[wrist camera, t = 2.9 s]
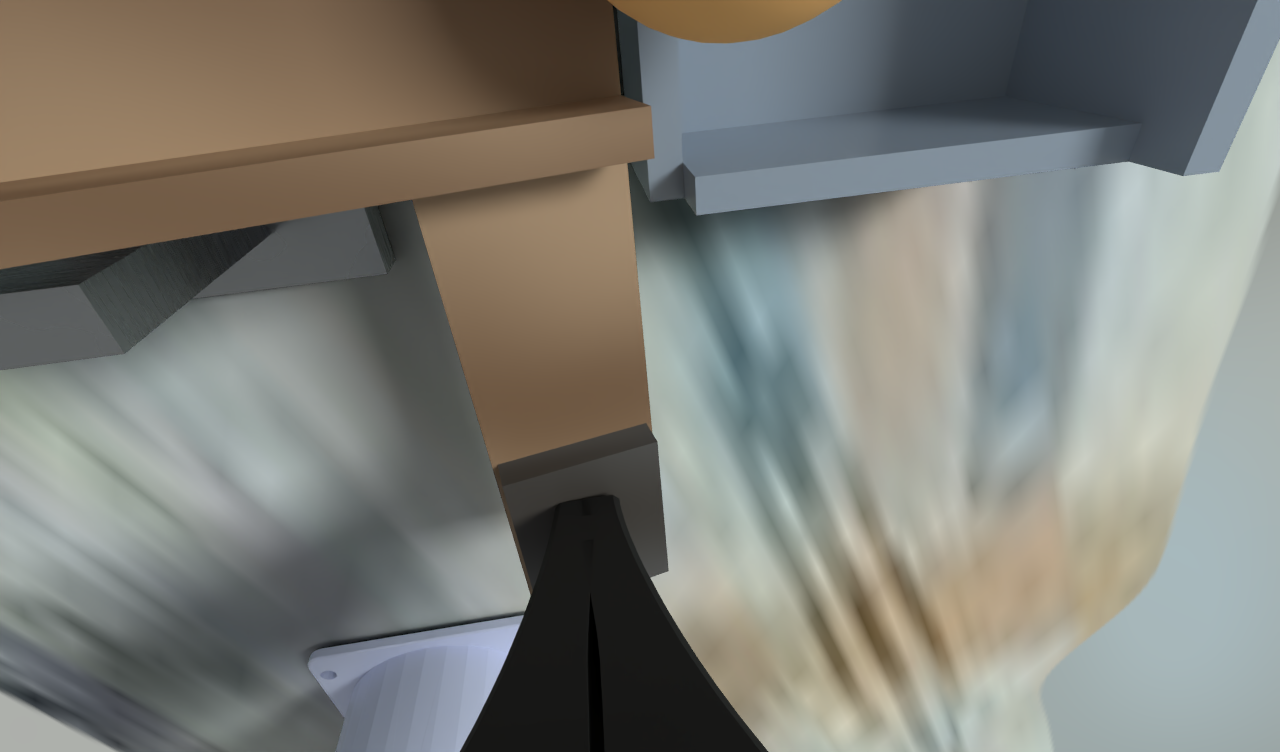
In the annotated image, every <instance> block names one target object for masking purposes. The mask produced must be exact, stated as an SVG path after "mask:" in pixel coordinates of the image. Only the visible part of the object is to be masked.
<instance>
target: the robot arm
mask: <svg viewBox="0 0 1280 752" xmlns="http://www.w3.org/2000/svg"><path fill="white" fill-rule="evenodd" d="M307 666H308V669H309V670H310V671H311V673H312V674H313V676H314V677H315V678H316V680H317V681H318V682H319V684H320V685H321V687H322V688H323V689H324V691H325V692H326V694H327V695H328V696H329V698H330V699H331V700H332V702H333V703H334V705H335V706H336V707H337V709H338V710H339V712H340V713H341V714H342V716H343V717H344V719H345V720H344V723H343V727H342V730H341V734H340V737H339V740H338V744H337V747H336V751H335V752H768V751H767V750H766V748H765V747H764V746H763V745H762V743H761V742H760V741H759V740H758V738H757V737H756V736H755V735H754V733H753V732H752V731H751V730H750V729H749V727H748V726H747V725H746V724H745V722H744V721H743V720H742V719H741V717H740V716H739V715H738V713H737V712H736V711H735V709H734V708H733V707H732V705H731V704H730V703H729V701H728V700H727V699H726V697H725V696H724V695H723V693H722V692H721V690H720V689H719V688H718V686H717V685H716V684H715V682H714V681H713V679H712V678H711V676H710V675H709V674H708V672H707V671H706V669H705V668H704V666H703V665H702V663H701V662H700V661H699V659H698V658H697V656H696V655H695V653H694V652H693V650H692V649H691V647H690V645H689V644H688V642H687V641H686V639H685V638H684V636H683V634H682V633H681V631H680V630H679V628H678V626H677V625H676V623H675V621H674V620H673V618H672V616H671V615H670V613H669V611H668V610H667V608H666V606H665V604H664V603H663V601H662V599H661V597H660V596H659V594H658V592H657V590H656V588H655V586H654V584H653V582H652V580H651V578H650V577H649V575H648V573H647V571H646V569H645V567H644V565H643V563H642V561H641V559H640V557H639V554H638V552H637V550H636V548H635V545H634V543H633V541H632V538H631V536H630V533H629V531H628V528H627V526H626V523H625V520H624V516H623V513H622V509H621V505H620V500H619V498H617V497H616V496H614V495H608V496H601V497H595V498H588V499H582V500H575V501H569V502H562V503H560V504H559V505H558V506H557V507H556V508H555V513H554V519H553V524H552V529H551V533H550V537H549V541H548V545H547V548H546V552H545V555H544V558H543V562H542V565H541V568H540V571H539V574H538V577H537V580H536V583H535V586H534V588H533V591H532V594H531V597H530V600H529V603H528V606H527V608H526V611H525V614H524V615H521V616H515V617H508V618H502V619H496V620H490V621H484V622H478V623H472V624H466V625H460V626H454V627H448V628H442V629H436V630H430V631H424V632H418V633H412V634H406V635H400V636H394V637H388V638H382V639H376V640H370V641H364V642H358V643H352V644H346V645H340V646H334V647H328V648H322V649H318V650H316V651H314V652H313V653H312V654H311V656H310V659H309V661H308V664H307Z"/></svg>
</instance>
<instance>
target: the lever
mask: <svg viewBox="0 0 1280 752" xmlns="http://www.w3.org/2000/svg"><path fill="white" fill-rule="evenodd" d="M654 158H655V156H654V141H653V126H652V111H651V106H650V105H647V104H644V103H642V102H639V101H636V100H633V99H630V98H627V97H625V96H622V95H621V90H620V79H619V68H618V57H617V46H616V35H615V25H614V14H613V5H612V4H611V3H610V2H609V1H608V0H0V269H5V268H11V267H16V266H22V265H28V264H34V263H40V262H46V261H52V260H58V259H64V258H70V257H76V256H81V255H87V254H93V253H99V252H105V251H111V250H117V249H123V248H129V247H135V246H140V245H146V244H152V243H158V242H164V241H170V240H176V239H182V238H188V237H194V236H200V235H205V234H211V233H217V232H223V231H229V230H235V229H241V228H247V227H253V226H259V225H265V224H270V223H276V222H282V221H288V220H294V219H300V218H306V217H312V216H318V215H324V214H330V213H335V212H341V211H347V210H353V209H359V208H365V207H371V206H377V205H383V204H389V203H394V202H400V201H406V200H412V202H413V205H414V208H415V212H416V215H417V218H418V222H419V225H420V228H421V232H422V235H423V238H424V242H425V245H426V248H427V252H428V255H429V258H430V262H431V265H432V268H433V272H434V275H435V278H436V282H437V285H438V288H439V292H440V295H441V298H442V302H443V305H444V308H445V311H446V315H447V318H448V321H449V325H450V328H451V331H452V335H453V338H454V341H455V345H456V348H457V351H458V355H459V358H460V361H461V365H462V368H463V371H464V375H465V378H466V381H467V385H468V388H469V391H470V395H471V398H472V401H473V405H474V408H475V411H476V415H477V418H478V421H479V425H480V428H481V431H482V435H483V438H484V441H485V445H486V448H487V451H488V455H489V458H490V461H491V465H492V468H493V471H494V474H495V478H496V481H497V484H498V488H499V491H500V494H501V498H502V501H503V504H504V508H505V511H506V514H507V518H508V521H509V524H510V528H511V531H512V534H513V538H514V541H515V544H516V548H517V551H518V554H519V558H520V561H521V564H522V568H523V571H524V574H525V578H526V581H527V584H528V588H529V591H530V594H532V591H533V588H534V586H535V583H536V580H537V577H538V574H539V571H540V568H541V565H542V562H543V558H544V555H545V552H546V548H547V545H548V541H549V537H550V533H551V529H552V524H553V519H554V513H555V508H556V507H557V506H558V505H559V504H560V503H562V502H569V501H575V500H582V499H588V498H595V497H601V496H608V495H614V496H616V497H617V498H619V500H620V505H621V509H622V513H623V516H624V520H625V523H626V526H627V528H628V531H629V533H630V536H631V538H632V541H633V543H634V545H635V548H636V550H637V552H638V554H639V557H640V559H641V561H642V563H643V565H644V567H645V569H646V571H647V573H648V575H649V577H653V576H656V575H659V574H662V573H664V572H667V571H668V559H667V548H666V536H665V525H664V513H663V502H662V490H661V479H660V467H659V456H658V445H657V440H656V439H655V437H654V435H653V434H652V425H651V415H650V404H649V393H648V382H647V371H646V360H645V350H644V339H643V328H642V317H641V306H640V295H639V285H638V274H637V263H636V252H635V241H634V230H633V220H632V209H631V198H630V187H629V176H628V165H627V163H631V162H637V161H643V160H648V159H654Z"/></svg>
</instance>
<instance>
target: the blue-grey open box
mask: <svg viewBox="0 0 1280 752" xmlns="http://www.w3.org/2000/svg"><path fill="white" fill-rule="evenodd" d="M617 17H618V28H619V40H620V51H621V62H622V73H623V84H624V95H625V97H627V98H630V99H633V100H636V101H639V102H642V103H644V104H647V105H650V106H651V111H652V126H653V141H654V156H655V158H654V159H648V160H643V161H637V162H631V165H632V167H633V169H634V171H635V173H636V175H637V177H638V179H639V181H640V183H641V185H642V187H643V189H644V191H645V193H646V195H647V196H648V198H649V200H650V202H656V201H664V200H672V199H680V198H685V200H686V201H687V203H688V204H689V206H690V207H691V208H692V210H693V211H694V213H695V214H696V215H704V214H712V213H720V212H728V211H736V210H744V209H752V208H760V207H768V206H776V205H784V204H792V203H800V202H808V201H816V200H824V199H832V198H840V197H848V196H856V195H864V194H872V193H880V192H888V191H896V190H904V189H912V188H920V187H928V186H936V185H944V184H952V183H960V182H968V181H976V180H984V179H992V178H1000V177H1008V176H1016V175H1024V174H1032V173H1040V172H1048V171H1056V170H1064V169H1072V168H1080V167H1088V166H1096V165H1104V164H1112V163H1120V162H1128V161H1129V162H1133V163H1137V164H1140V165H1144V166H1148V167H1151V168H1155V169H1159V170H1163V171H1166V172H1170V173H1174V174H1177V175H1181V176H1187V175H1195V174H1203V173H1211V172H1219V171H1220V169H1221V166H1222V164H1223V162H1224V160H1225V158H1226V155H1227V153H1228V151H1229V149H1230V147H1231V145H1232V142H1233V140H1234V138H1235V136H1236V134H1237V131H1238V129H1239V127H1240V125H1241V123H1242V120H1243V118H1244V116H1245V114H1246V112H1247V109H1248V107H1249V105H1250V103H1251V101H1252V98H1253V96H1254V94H1255V92H1256V90H1257V87H1258V85H1259V83H1260V81H1261V79H1262V77H1263V74H1264V72H1265V70H1266V68H1267V66H1268V63H1269V61H1270V59H1271V57H1272V55H1273V52H1274V50H1275V48H1276V46H1277V44H1278V41H1279V39H1280V0H842V1H840V2H839V3H837V4H836V5H834V6H832V7H831V8H829V9H828V10H826V11H824V12H823V13H821V14H820V15H818V16H816V17H815V18H813V19H811V20H809V21H807V22H805V23H803V24H801V25H798V26H796V27H794V28H792V29H790V30H787V31H785V32H783V33H779V34H776V35H772V36H769V37H766V38H762V39H759V40H752V41H744V42H737V43H700V42H695V41H690V40H685V39H680V38H676V37H673V36H669V35H667V34H664V33H661V32H659V31H656V30H653V29H651V28H648V27H647V26H645V25H643V24H641V23H640V22H638V21H636V20H635V19H633V18H631V17H630V16H628V15H626V14H625V13H623V12H621V11H620V10H618V9H617Z"/></svg>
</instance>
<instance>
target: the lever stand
mask: <svg viewBox="0 0 1280 752" xmlns="http://www.w3.org/2000/svg"><path fill="white" fill-rule="evenodd" d="M394 262H395V257H394V254H393V251H392V248H391V245H390V242H389V239H388V236H387V233H386V230H385V227H384V224H383V221H382V218H381V215H380V212H379V209H378V206H371V207H365V208H359V209H353V210H347V211H341V212H335V213H330V214H324V215H318V216H312V217H306V218H300V219H294V220H288V221H282V222H276V223H270V224H265V225H259V226H253V227H247V228H241V229H235V230H229V231H223V232H217V233H211V234H205V235H200V236H194V237H188V238H182V239H176V240H170V241H164V242H158V243H152V244H146V245H140V246H135V247H129V248H123V249H117V250H111V251H105V252H99V253H93V254H87V255H81V256H76V257H70V258H64V259H58V260H52V261H46V262H40V263H34V264H28V265H22V266H16V267H11V268H5V269H0V370H5V369H12V368H20V367H27V366H35V365H43V364H50V363H58V362H65V361H73V360H80V359H88V358H96V357H103V356H111V355H118V354H125V353H126V352H127V351H128V350H130V349H131V348H132V347H133V346H135V345H136V344H137V343H138V342H139V341H141V340H142V339H143V338H144V337H146V336H147V335H148V334H149V333H150V332H152V331H153V330H154V329H155V328H157V327H158V326H159V325H160V324H162V323H163V322H164V321H165V320H166V319H168V318H169V317H170V316H171V315H173V314H174V313H175V312H176V311H177V310H179V309H180V308H181V307H182V306H184V305H185V304H186V303H187V302H188V301H190V300H191V299H195V298H202V297H210V296H218V295H226V294H234V293H242V292H250V291H257V290H265V289H273V288H281V287H289V286H297V285H305V284H313V283H320V282H328V281H336V280H344V279H352V278H360V277H368V276H375V275H383V274H388V272H389V270H390V269H391V267H392V265H393V264H394Z"/></svg>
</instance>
